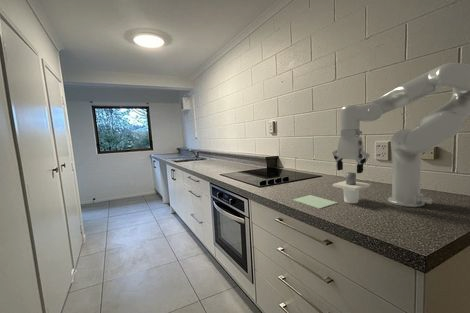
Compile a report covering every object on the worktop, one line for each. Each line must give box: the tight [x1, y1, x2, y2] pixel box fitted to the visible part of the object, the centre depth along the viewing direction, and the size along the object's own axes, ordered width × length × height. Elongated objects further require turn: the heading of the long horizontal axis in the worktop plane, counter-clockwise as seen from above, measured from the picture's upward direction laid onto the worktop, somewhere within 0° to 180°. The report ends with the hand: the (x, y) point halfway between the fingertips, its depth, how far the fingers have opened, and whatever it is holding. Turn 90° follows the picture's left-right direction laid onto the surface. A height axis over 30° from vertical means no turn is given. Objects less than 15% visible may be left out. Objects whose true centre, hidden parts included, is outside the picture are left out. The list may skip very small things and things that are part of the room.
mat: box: [292, 194, 338, 210], centre depth 105 cm, size 16×12×1 cm
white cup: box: [342, 189, 360, 204], centre depth 101 cm, size 7×7×7 cm
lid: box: [332, 172, 371, 191], centre depth 101 cm, size 11×11×6 cm
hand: (349, 171), depth 101 cm, fingers open, 9 cm apart
